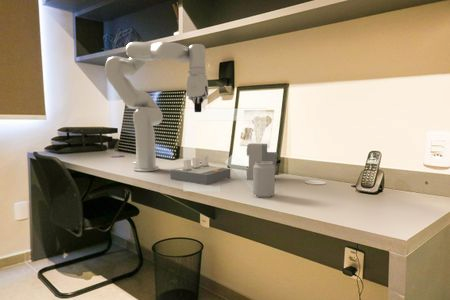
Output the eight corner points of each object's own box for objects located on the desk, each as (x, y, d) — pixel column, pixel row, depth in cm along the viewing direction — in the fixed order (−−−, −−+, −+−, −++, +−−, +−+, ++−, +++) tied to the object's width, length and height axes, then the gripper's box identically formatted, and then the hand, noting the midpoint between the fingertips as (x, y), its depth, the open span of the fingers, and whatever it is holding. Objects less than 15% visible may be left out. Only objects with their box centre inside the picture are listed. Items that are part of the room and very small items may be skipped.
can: (257, 199, 110) (258, 164, 109) (249, 193, 117) (250, 160, 116) (278, 197, 112) (278, 162, 111) (269, 192, 119) (269, 159, 118)
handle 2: (200, 165, 150) (200, 156, 149) (204, 165, 152) (204, 155, 152) (205, 166, 148) (205, 156, 148) (209, 165, 151) (209, 156, 150)
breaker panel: (170, 179, 143) (170, 169, 143) (196, 173, 157) (195, 163, 156) (206, 184, 132) (206, 173, 131) (230, 177, 146) (230, 167, 145)
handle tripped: (191, 167, 145) (191, 157, 144) (196, 166, 147) (195, 157, 147) (196, 168, 143) (196, 158, 143) (200, 167, 146) (200, 157, 145)
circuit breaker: (279, 180, 139) (280, 145, 137) (246, 179, 142) (246, 145, 140) (280, 177, 146) (281, 143, 144) (248, 176, 149) (248, 143, 147)
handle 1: (182, 169, 140) (182, 159, 139) (187, 168, 142) (187, 158, 142) (187, 170, 138) (187, 160, 138) (192, 169, 141) (192, 159, 140)
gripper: (179, 72, 153) (180, 112, 155) (205, 70, 144) (205, 112, 147) (190, 74, 159) (191, 112, 161) (215, 71, 150) (215, 112, 153)
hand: (198, 112), depth 154 cm, fingers closed
